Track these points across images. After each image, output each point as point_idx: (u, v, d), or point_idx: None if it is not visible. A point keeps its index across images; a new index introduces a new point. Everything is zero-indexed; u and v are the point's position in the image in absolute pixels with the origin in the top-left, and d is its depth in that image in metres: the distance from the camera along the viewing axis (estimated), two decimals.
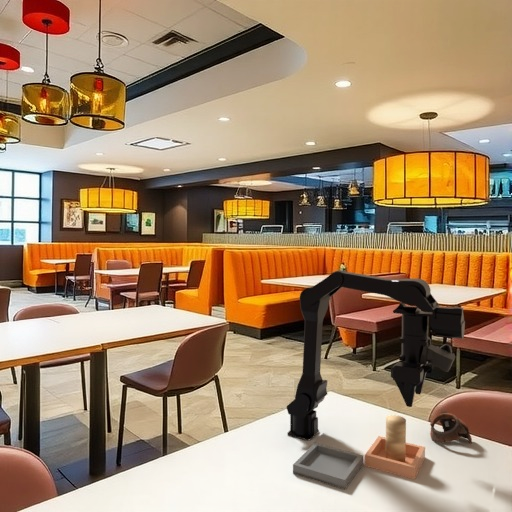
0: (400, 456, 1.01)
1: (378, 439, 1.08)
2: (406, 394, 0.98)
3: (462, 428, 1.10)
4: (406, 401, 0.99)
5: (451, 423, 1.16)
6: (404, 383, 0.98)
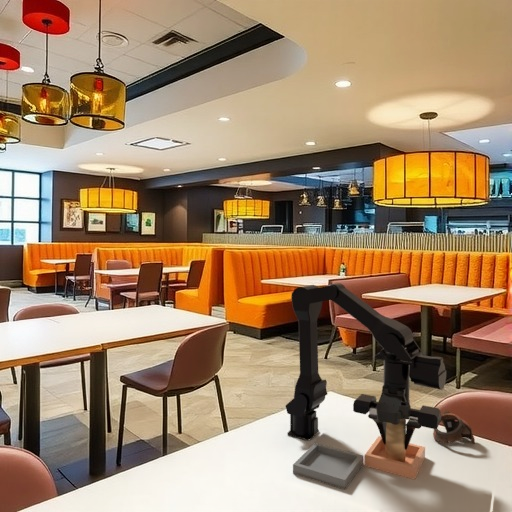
0: (400, 456, 1.01)
1: (378, 439, 1.08)
2: None
3: (465, 429, 1.09)
4: None
5: (454, 423, 1.16)
6: None
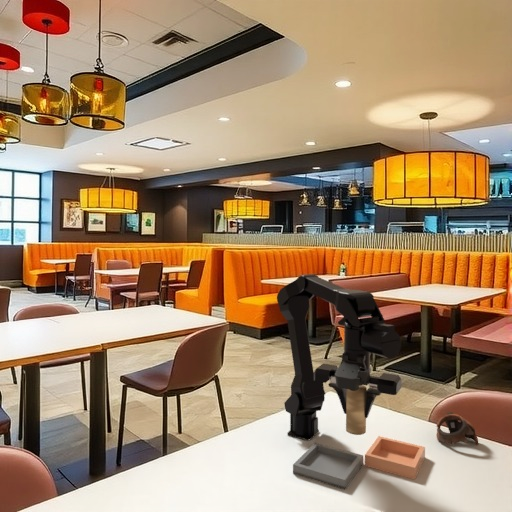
0: (360, 425, 0.99)
1: (378, 439, 1.08)
2: None
3: (469, 429, 1.09)
4: None
5: (457, 424, 1.16)
6: None
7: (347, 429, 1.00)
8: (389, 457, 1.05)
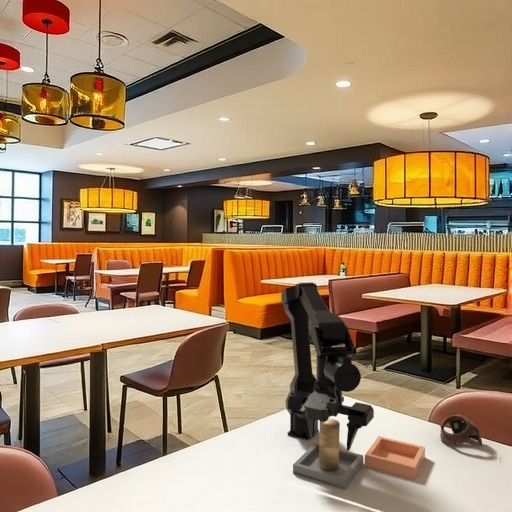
0: (332, 461, 0.98)
1: (378, 439, 1.08)
2: None
3: (473, 430, 1.09)
4: None
5: (460, 425, 1.15)
6: None
7: (319, 465, 0.99)
8: (389, 457, 1.05)
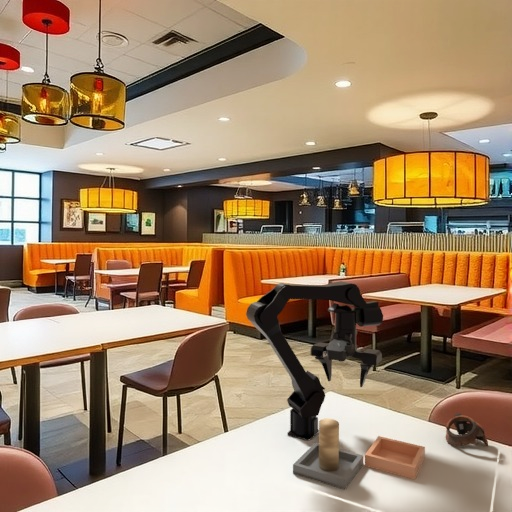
0: (332, 461, 0.98)
1: (378, 439, 1.08)
2: None
3: (479, 431, 1.08)
4: None
5: (466, 425, 1.15)
6: None
7: (319, 465, 0.99)
8: (389, 457, 1.05)
